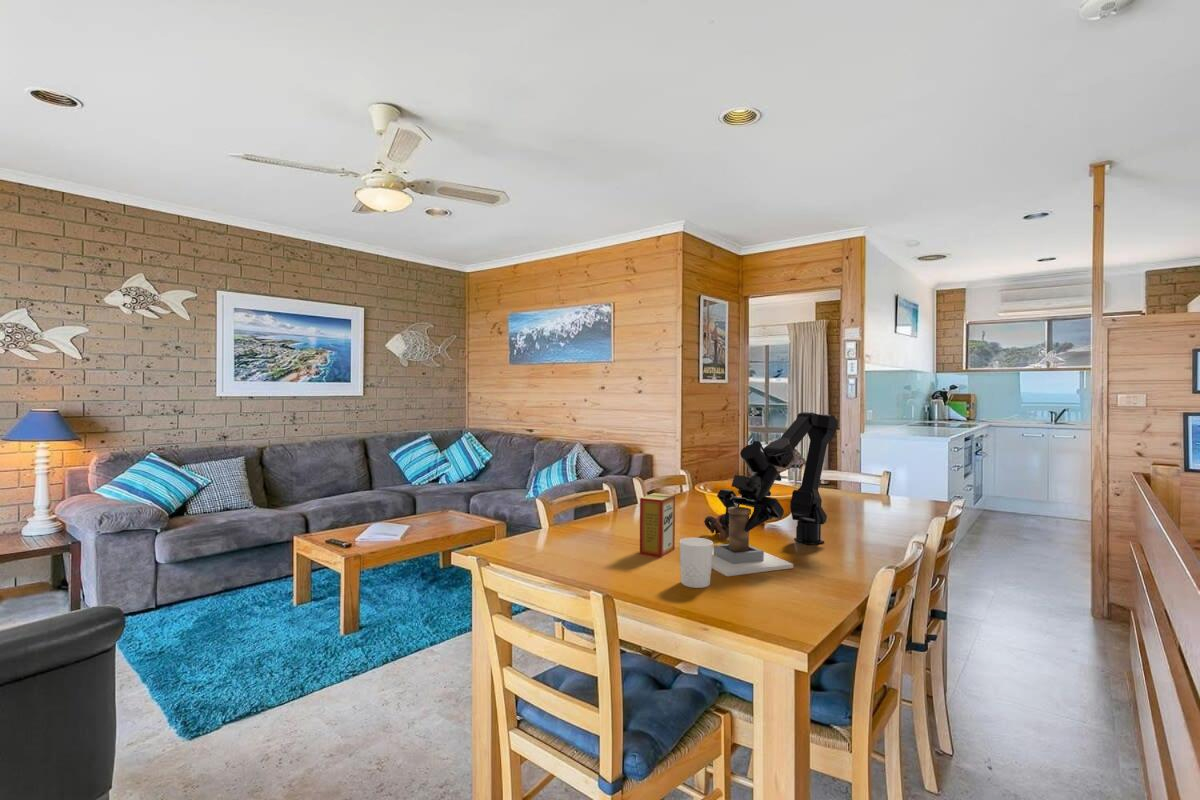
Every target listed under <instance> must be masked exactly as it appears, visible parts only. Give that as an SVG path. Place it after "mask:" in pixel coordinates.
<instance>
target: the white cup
mask: <svg viewBox="0 0 1200 800" xmlns="http://www.w3.org/2000/svg"><path fill="white" fill-rule="evenodd" d="M678 542H679V548H678V549H679V567H680V579H681V580H680V581H681V582H680V583H681V584H682V585H683V586H685V587H687V588H694V589H702V588H708V587H709V586H711V585H710V584H711V574H712V552H713V549H714V542H713V540H711V539H708V538H703V537H684V538H681V539H679V541H678Z"/></svg>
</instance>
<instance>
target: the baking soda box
mask: <svg viewBox="0 0 1200 800" xmlns="http://www.w3.org/2000/svg"><path fill="white" fill-rule="evenodd" d="M675 525H676V494H668V493H667V494H666V493H658V492H657V493H656V492H653V493H651V494H647V495H645V496H643V497H642V496H641V497H640V498H639V555H643V556H649V557H655V558H663V557H664V556H667V554H669V553H671V552H673V551H675V546H676V545H675V544H676V543H675V539H676V537H675V535H676V532H675V531H676V530H675V529H676V528H675V527H676V526H675Z"/></svg>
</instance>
